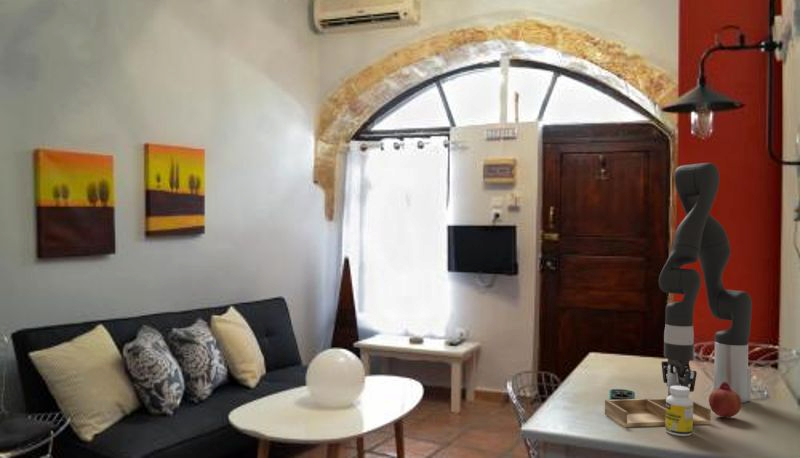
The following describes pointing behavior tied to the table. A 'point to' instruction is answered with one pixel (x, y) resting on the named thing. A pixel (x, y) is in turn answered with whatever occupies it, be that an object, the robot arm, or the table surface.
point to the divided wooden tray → (648, 412)
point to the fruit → (725, 401)
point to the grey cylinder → (672, 381)
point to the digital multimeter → (621, 394)
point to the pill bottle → (679, 412)
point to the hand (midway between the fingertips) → (677, 403)
